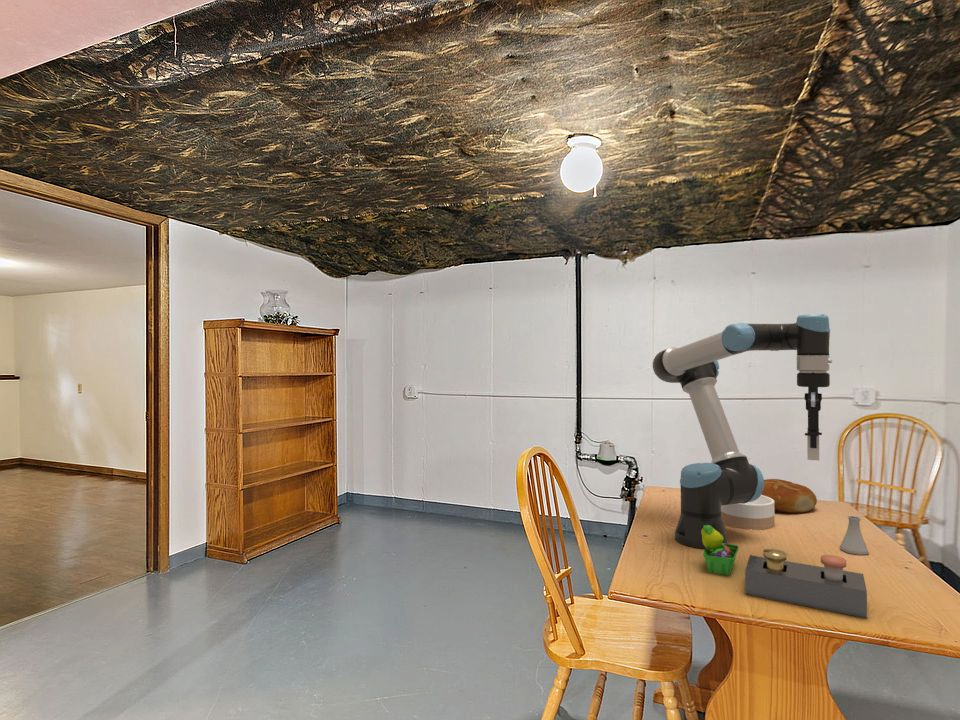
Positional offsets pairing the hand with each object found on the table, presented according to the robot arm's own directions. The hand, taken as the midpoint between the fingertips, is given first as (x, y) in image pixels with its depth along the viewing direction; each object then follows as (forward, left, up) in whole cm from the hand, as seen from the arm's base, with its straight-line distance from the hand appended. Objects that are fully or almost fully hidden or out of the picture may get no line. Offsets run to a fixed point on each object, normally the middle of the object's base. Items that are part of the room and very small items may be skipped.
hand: (813, 459), depth 147 cm
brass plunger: (-8, -21, -28) cm, 36 cm away
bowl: (-20, +36, -30) cm, 51 cm away
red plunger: (+4, -21, -27) cm, 34 cm away
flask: (+10, +21, -30) cm, 38 cm away
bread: (-11, +62, -30) cm, 70 cm away
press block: (-2, -21, -29) cm, 36 cm away
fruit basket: (-22, -12, -30) cm, 39 cm away
